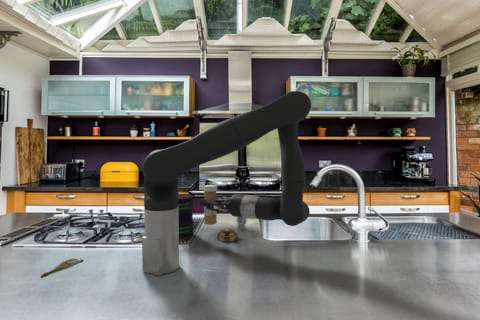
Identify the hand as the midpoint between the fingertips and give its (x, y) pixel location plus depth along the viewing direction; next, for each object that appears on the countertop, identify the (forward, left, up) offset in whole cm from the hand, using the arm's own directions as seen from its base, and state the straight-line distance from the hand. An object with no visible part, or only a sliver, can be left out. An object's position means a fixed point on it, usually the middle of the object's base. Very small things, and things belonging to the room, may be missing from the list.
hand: (204, 201), depth 107 cm
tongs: (-38, +22, -15) cm, 46 cm away
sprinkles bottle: (0, -3, -8) cm, 8 cm away
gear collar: (+7, -5, -14) cm, 17 cm away
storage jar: (+2, +12, -15) cm, 19 cm away
